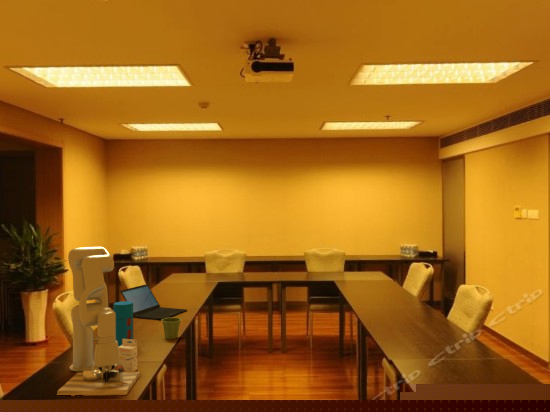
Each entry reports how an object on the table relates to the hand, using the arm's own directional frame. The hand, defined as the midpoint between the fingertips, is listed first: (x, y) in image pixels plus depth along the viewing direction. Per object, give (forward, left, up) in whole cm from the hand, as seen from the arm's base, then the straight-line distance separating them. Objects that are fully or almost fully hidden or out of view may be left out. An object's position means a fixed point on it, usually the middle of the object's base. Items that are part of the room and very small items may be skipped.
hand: (106, 380), depth 205 cm
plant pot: (-77, +14, -3) cm, 79 cm away
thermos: (-61, -10, -3) cm, 62 cm away
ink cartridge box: (-22, +3, -3) cm, 22 cm away
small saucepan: (-4, -3, -1) cm, 5 cm away
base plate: (-3, -3, -3) cm, 5 cm away
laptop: (-144, -11, -4) cm, 144 cm away
